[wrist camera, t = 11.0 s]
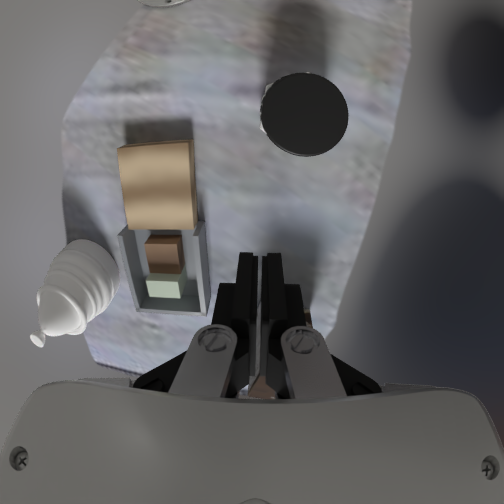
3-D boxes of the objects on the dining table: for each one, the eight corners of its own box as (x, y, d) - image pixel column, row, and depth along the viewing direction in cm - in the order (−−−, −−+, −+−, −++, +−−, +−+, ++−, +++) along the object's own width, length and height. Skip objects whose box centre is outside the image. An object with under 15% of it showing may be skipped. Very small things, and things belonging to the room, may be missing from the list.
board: (126, 144, 37) (117, 148, 34) (193, 139, 37) (188, 142, 34) (135, 221, 43) (128, 229, 40) (198, 220, 43) (193, 229, 40)
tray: (130, 221, 43) (117, 235, 39) (204, 220, 43) (198, 236, 38) (145, 293, 50) (136, 311, 46) (211, 296, 50) (206, 316, 45)
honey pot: (95, 307, 52) (56, 374, 37) (53, 260, 47) (0, 319, 32) (134, 281, 49) (92, 357, 33) (86, 225, 44) (24, 288, 28)
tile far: (145, 280, 41) (149, 296, 43) (177, 281, 41) (180, 298, 43) (155, 262, 46) (158, 278, 47) (185, 263, 45) (187, 279, 47)
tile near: (150, 234, 43) (144, 243, 41) (181, 234, 43) (176, 244, 40) (155, 262, 46) (149, 273, 43) (185, 263, 45) (180, 274, 43)
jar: (265, 72, 32) (267, 60, 22) (328, 84, 32) (356, 79, 22) (256, 137, 37) (253, 154, 26) (316, 147, 37) (338, 168, 26)
